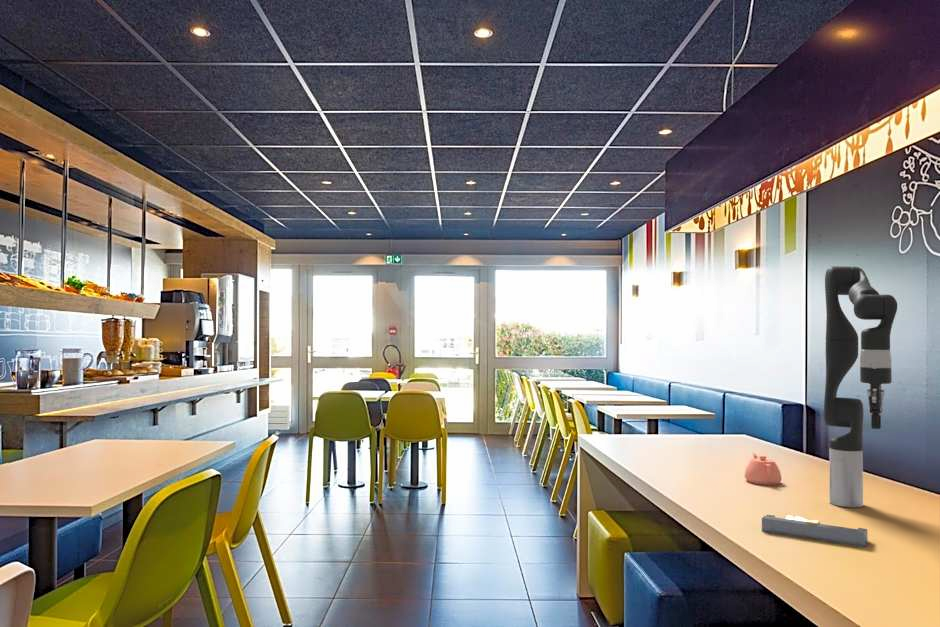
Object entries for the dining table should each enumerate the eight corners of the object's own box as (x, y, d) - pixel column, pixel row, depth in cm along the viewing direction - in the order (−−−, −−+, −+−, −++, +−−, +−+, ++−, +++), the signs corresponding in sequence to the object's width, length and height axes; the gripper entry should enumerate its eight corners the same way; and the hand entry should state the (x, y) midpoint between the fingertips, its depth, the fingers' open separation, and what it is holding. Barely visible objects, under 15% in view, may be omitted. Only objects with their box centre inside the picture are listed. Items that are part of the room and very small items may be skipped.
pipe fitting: (793, 527, 190) (784, 530, 185) (793, 513, 190) (784, 515, 185) (824, 533, 184) (816, 536, 180) (824, 518, 185) (816, 521, 180)
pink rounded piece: (752, 486, 241) (752, 459, 241) (737, 476, 258) (737, 450, 259) (788, 487, 239) (788, 460, 240) (770, 477, 257) (770, 451, 258)
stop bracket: (767, 525, 190) (767, 511, 190) (867, 540, 176) (867, 525, 176) (761, 531, 184) (761, 516, 184) (865, 547, 170) (864, 531, 170)
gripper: (862, 365, 199) (863, 425, 198) (857, 366, 188) (858, 429, 187) (892, 365, 195) (893, 427, 194) (889, 367, 184) (890, 432, 183)
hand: (876, 428), depth 191 cm, fingers closed
